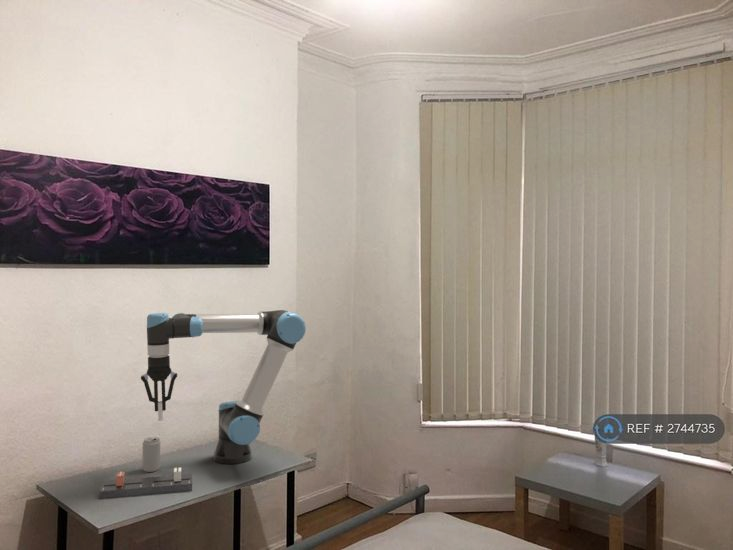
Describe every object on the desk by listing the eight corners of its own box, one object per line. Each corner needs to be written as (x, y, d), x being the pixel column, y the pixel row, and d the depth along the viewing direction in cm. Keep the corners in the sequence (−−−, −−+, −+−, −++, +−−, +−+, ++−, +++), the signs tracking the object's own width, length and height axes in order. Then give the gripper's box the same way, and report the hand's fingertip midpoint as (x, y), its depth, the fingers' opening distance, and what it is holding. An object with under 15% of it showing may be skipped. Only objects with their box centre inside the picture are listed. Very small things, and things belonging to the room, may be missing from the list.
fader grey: (181, 477, 217) (181, 467, 216) (181, 481, 213) (181, 470, 212) (174, 477, 216) (174, 467, 216) (173, 481, 212) (174, 471, 212)
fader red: (124, 481, 211) (124, 471, 211) (123, 485, 207) (123, 475, 207) (117, 482, 211) (117, 471, 210) (116, 486, 207) (116, 475, 207)
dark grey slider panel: (192, 480, 220) (192, 473, 220) (192, 490, 211) (192, 483, 211) (103, 487, 212) (103, 480, 212) (99, 498, 203) (99, 491, 202)
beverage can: (154, 473, 227) (154, 441, 227) (139, 472, 228) (139, 440, 228) (163, 467, 233) (163, 437, 233) (148, 466, 234) (148, 435, 234)
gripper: (177, 352, 225) (178, 415, 226) (140, 355, 221) (142, 418, 222) (177, 356, 218) (179, 420, 219) (139, 358, 214) (141, 424, 215)
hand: (160, 419), depth 221 cm, fingers closed
